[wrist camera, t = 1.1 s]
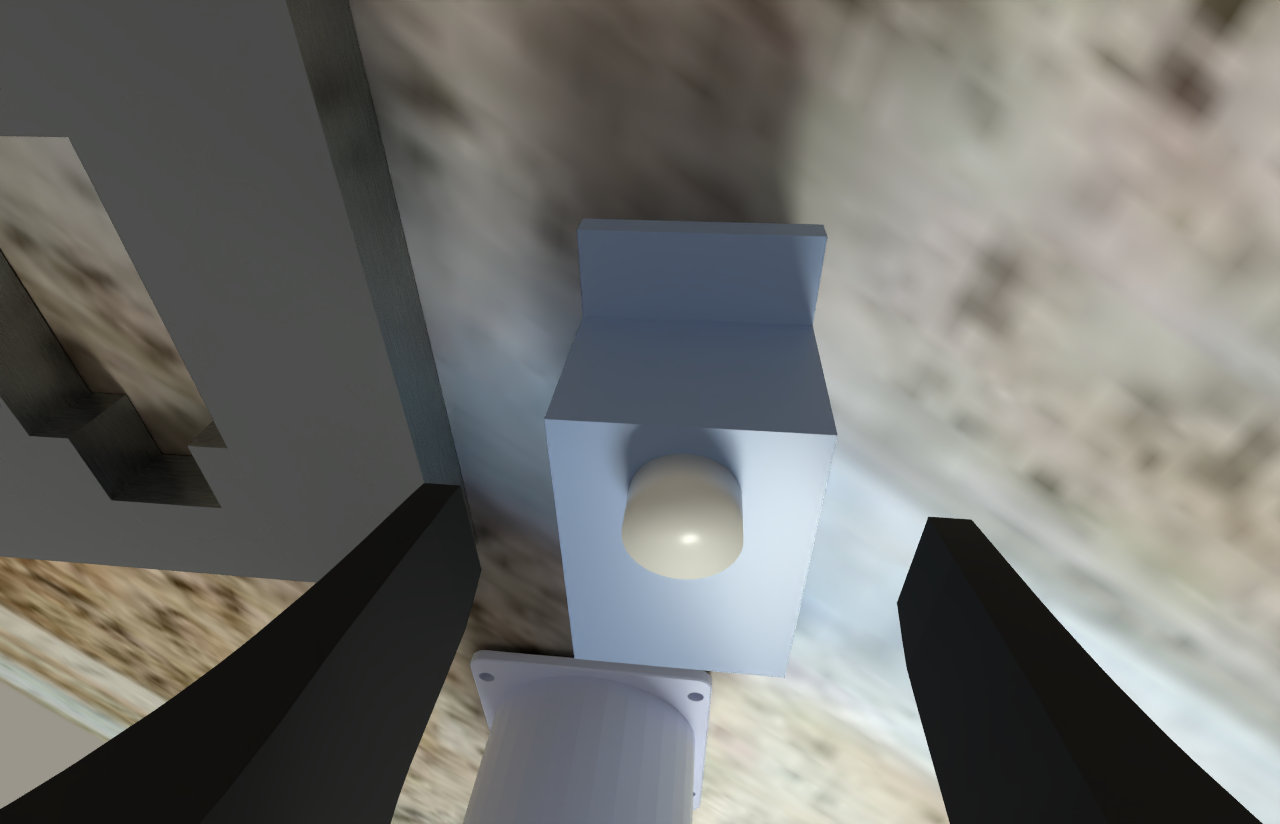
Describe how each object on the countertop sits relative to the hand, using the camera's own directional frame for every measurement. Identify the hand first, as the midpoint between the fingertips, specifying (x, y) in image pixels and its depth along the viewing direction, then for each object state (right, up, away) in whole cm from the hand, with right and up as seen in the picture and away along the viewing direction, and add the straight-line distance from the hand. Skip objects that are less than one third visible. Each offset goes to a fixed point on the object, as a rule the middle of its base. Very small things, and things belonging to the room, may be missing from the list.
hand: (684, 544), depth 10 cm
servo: (+1, +3, +4) cm, 5 cm away
